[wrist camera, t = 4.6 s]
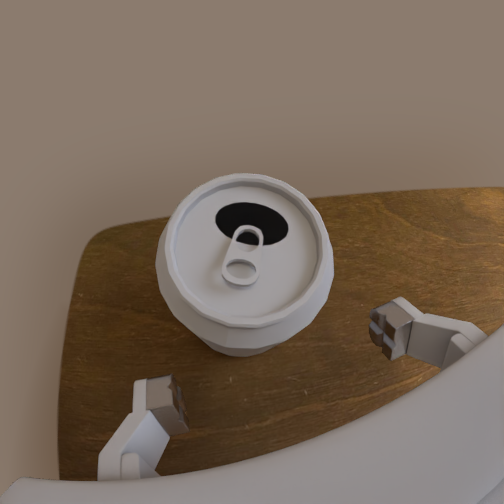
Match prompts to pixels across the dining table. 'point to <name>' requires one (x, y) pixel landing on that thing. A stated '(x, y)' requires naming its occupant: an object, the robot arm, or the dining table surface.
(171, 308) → the can
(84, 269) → the dining table surface
